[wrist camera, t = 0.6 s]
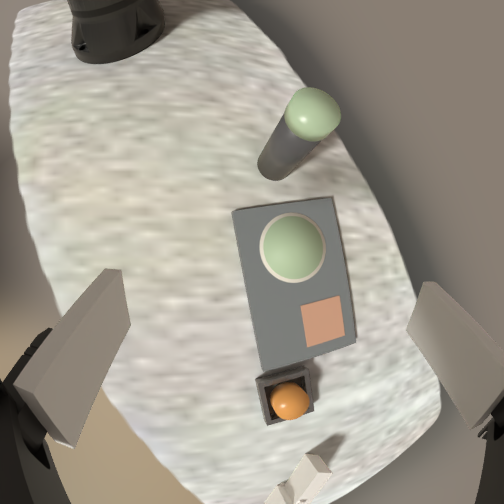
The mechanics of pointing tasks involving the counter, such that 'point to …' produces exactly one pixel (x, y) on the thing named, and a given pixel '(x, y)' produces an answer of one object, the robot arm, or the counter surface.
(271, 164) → the marker
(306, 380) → the button housing
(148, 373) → the counter surface
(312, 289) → the board
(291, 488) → the white block piece
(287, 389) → the button
